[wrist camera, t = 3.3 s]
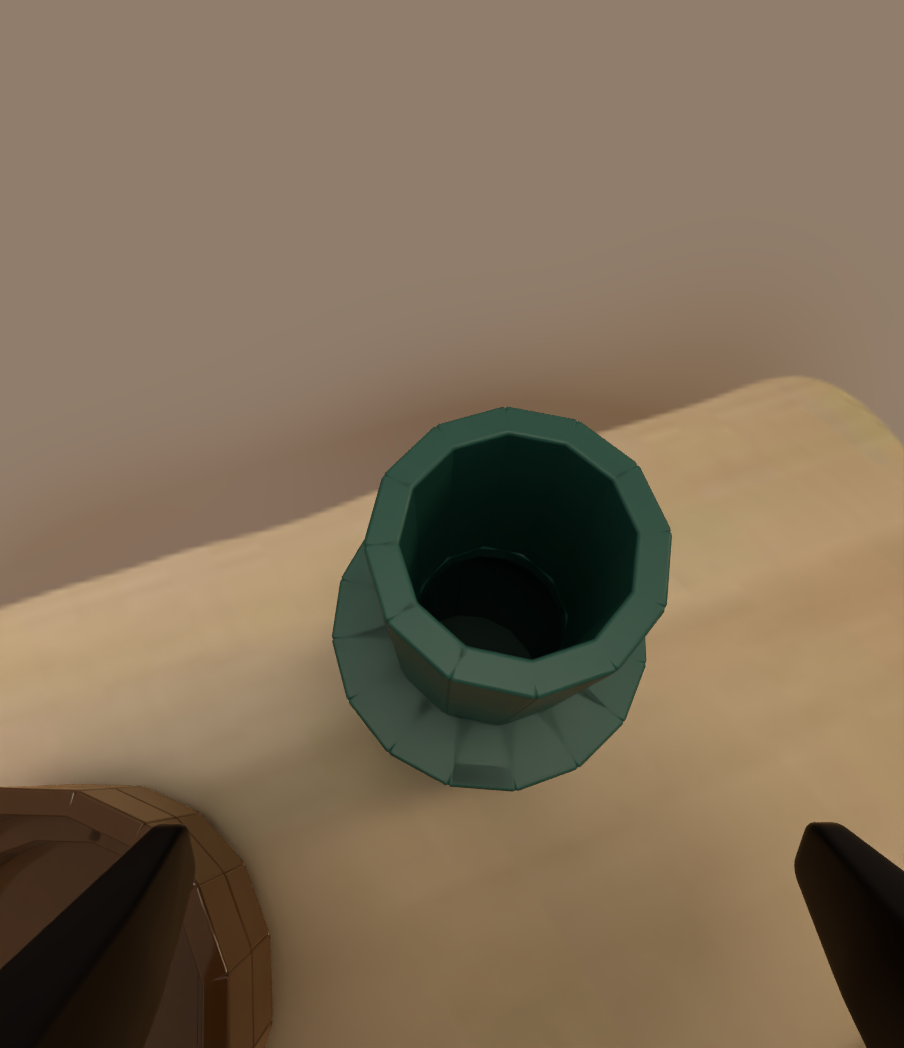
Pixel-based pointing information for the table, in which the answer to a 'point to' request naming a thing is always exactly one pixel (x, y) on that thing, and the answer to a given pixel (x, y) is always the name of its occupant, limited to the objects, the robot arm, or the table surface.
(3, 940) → the brown round bowl
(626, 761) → the table surface
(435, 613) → the ceramic bottle
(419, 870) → the table surface
